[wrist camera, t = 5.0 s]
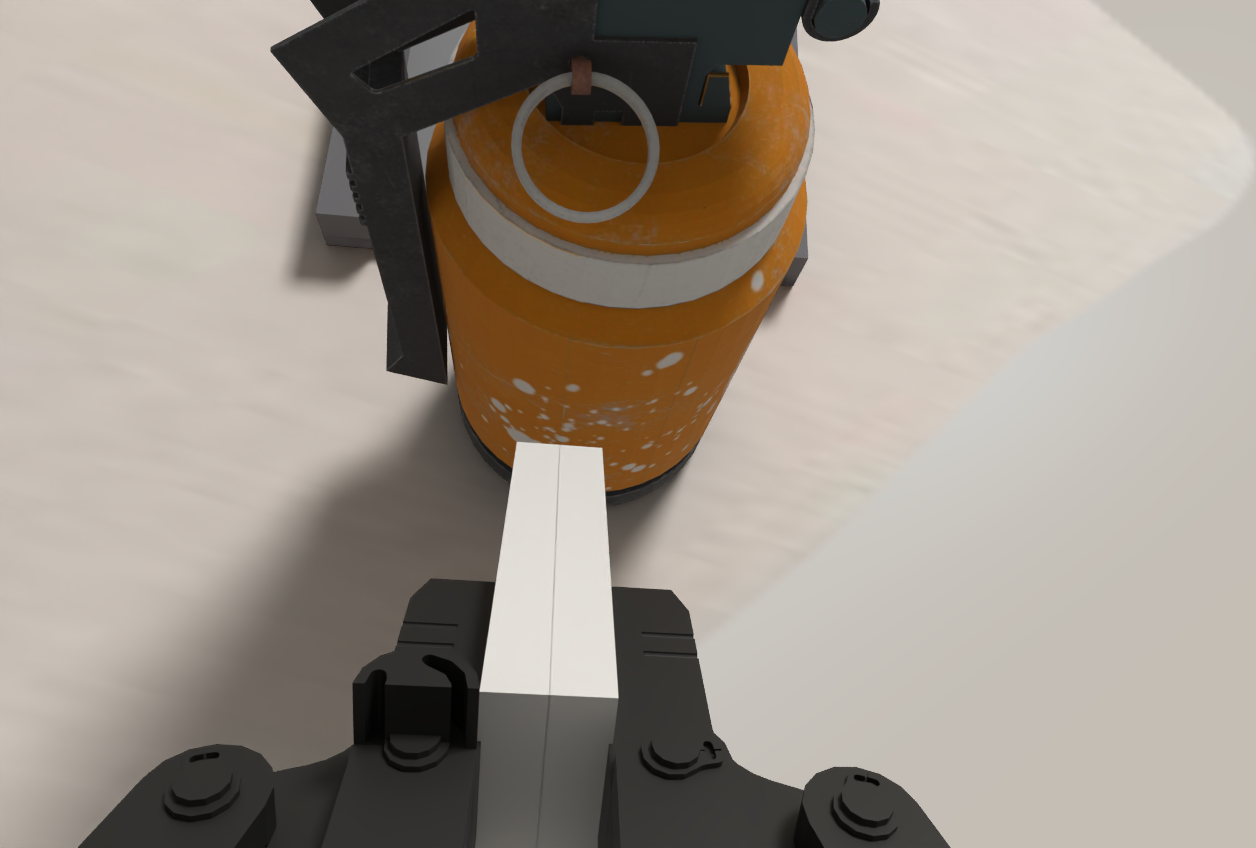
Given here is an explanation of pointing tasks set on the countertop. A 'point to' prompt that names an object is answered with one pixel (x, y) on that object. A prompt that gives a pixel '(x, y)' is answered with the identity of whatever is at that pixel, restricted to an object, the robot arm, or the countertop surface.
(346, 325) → the countertop surface
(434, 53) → the tray
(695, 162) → the canister
